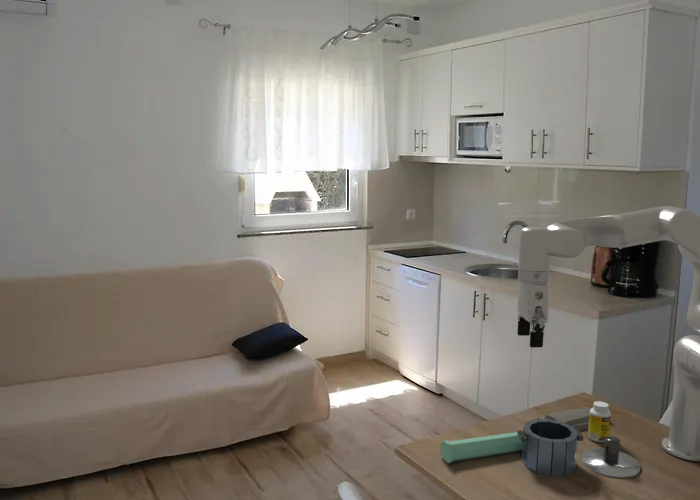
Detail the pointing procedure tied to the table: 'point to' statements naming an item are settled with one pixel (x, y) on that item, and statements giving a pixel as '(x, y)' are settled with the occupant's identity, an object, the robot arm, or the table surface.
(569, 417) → the soap mold
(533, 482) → the table surface
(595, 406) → the supplement bottle
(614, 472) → the lid
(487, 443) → the mint green octagonal rod
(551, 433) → the pot
